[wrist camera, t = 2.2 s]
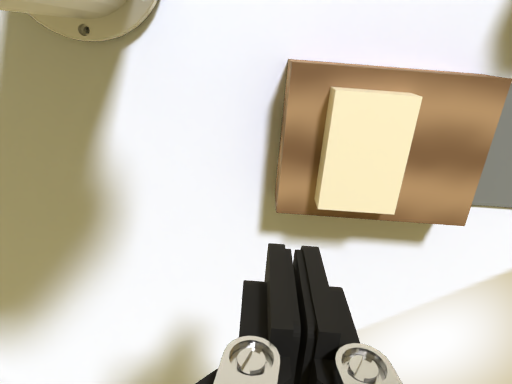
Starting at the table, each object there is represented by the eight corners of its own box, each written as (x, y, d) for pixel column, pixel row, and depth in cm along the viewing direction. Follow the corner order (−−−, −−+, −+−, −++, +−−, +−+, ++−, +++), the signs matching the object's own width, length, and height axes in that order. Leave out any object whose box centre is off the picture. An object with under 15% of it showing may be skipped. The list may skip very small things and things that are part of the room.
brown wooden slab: (288, 59, 30) (292, 61, 26) (481, 74, 30) (512, 79, 27) (274, 194, 35) (276, 212, 31) (443, 206, 35) (464, 225, 31)
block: (330, 86, 27) (335, 90, 25) (411, 92, 27) (422, 96, 25) (314, 198, 31) (317, 209, 29) (386, 203, 31) (394, 214, 29)
